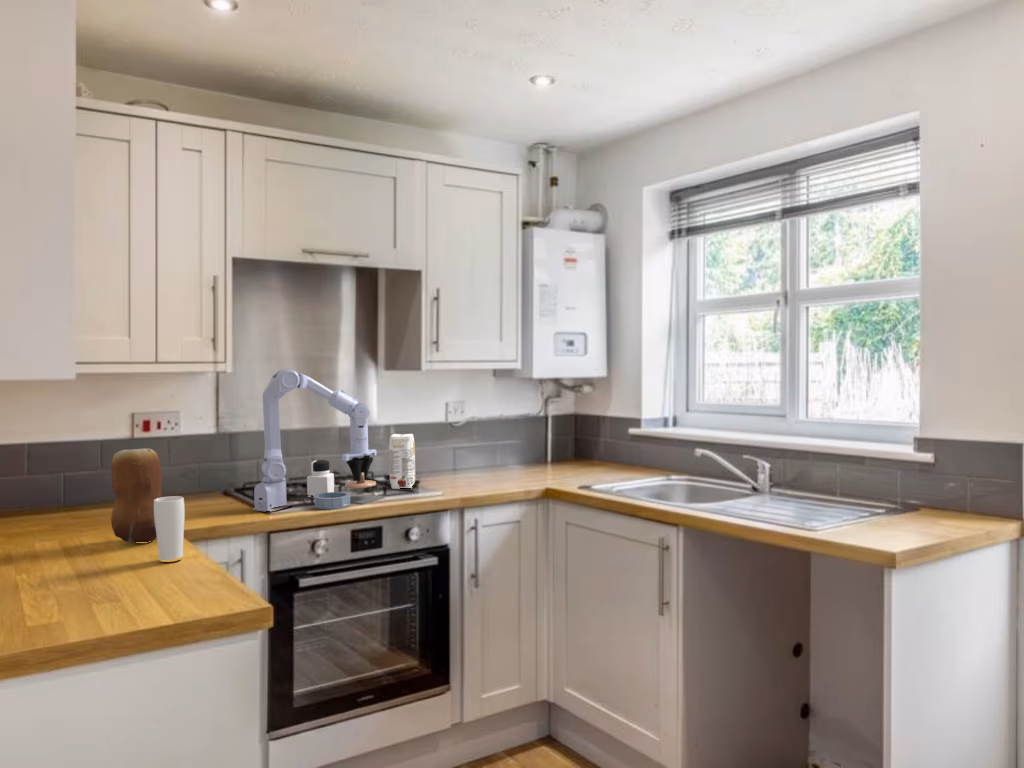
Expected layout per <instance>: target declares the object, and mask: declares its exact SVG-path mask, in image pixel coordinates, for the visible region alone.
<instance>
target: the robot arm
mask: <svg viewBox="0 0 1024 768" xmlns="http://www.w3.org/2000/svg"><path fill="white" fill-rule="evenodd" d="M296 388H298V389H307V390H309V391H311V392H313V393H315V394H316V395H318V396H320V397H322V398H324V399H325V400H327V402H328V405H329V406H330V407H332V408H334V409H335V410H337V411H339V412H340V413H342V414H345V415H348V417H349V420H350V421H349V422H350V423H349V435H350V438H349V439H350V440H349V441H350V444H349V445H350V451H349V452H347V453H345V454H341V460H342V461H343V462H346V464H347V465H348V467H349V469H350V472H351V475H352V478H353V481H360V478H361V472H364V478H365V480H368V479H367V478H368V475H369V470H370V467H371V465H372V463H373V461H374V457H375V456H377V449H374V448H373V449H369V429H368V427H369V425H368V418H369V416H370V412H371V411H370V410H369V408H368V405H366V404H365V403H364V402H363V403H362V402H360V401H359V399H358V398H356V397H355V398H353V397H351V396H350V395H348V394H347V391H345V390H343V389H341V390H339V389H337V390H331V389H330V388H328V387H327V386H325V385H323V384H321V383H320V382H318V381H316V380H315V379H313V378H312V377H310V376H308V375H306V374H303V373H300V372H297V371H295V370H294V369H289V368H282V369H280V370H278V371H277V372H276V373H274V374H273V375H272V376H271V378H270V380H269V381H268V383H267V386H266V387H265V389H264V390H263V391H262V412H263V413H262V415H263V435H264V436H263V437H264V438H263V439H264V452H263V453H264V454H263V462H262V463H261V467H260V468H261V469H260V470H261V472H262V473H263V474H264V475H263V477H262V478H261V482H259V483H257V484H256V485H255V486H254V489H253V490H254V491H253V499H254V500H253V501H254V503H253V504H254V507H253V508H252V510H253V511H259V512H266V511H268V510H269V509H271V508H274V507H278V506H283V505H286V504H287V505H288V503H287V501H288V499H287V477H286V474H287V467H286V465H285V463H284V460H283V453H282V446H281V445H282V444H281V442H282V441H281V424H280V423H281V421H280V399H282V398H283V397H284V396H285V395H286V393H287V394H288V392H290V391H292V390H295V389H296ZM372 456H374V457H372ZM266 513H267V512H266Z"/></svg>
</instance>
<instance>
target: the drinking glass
mask: <svg viewBox="0 0 1024 768" xmlns="http://www.w3.org/2000/svg"><path fill="white" fill-rule="evenodd" d="M185 507H186V506H185V498H184V497H183V496H179V495H175V496H173V495H172V496H162V498H157V499H155V500H154V521H155V529H156V536H157V538H156V543H157V550H158V560H159V559H161V560H170V559H176V558H180V557H183V558H184V539H185V538H184V535H185V521H186V519H185V518H186V517H185V516H186V515H185V513H186V512H185V511H186V510H185V509H186V508H185Z"/></svg>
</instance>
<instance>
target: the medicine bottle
mask: <svg viewBox="0 0 1024 768" xmlns="http://www.w3.org/2000/svg"><path fill="white" fill-rule="evenodd" d="M310 469H311V470H310V472H311V474H310V475H308V476H307V477H306V489H307V495H313V496H315V495H317V494H321V493H327V492H335V474H334V473H332V472H331V471H330V462H329V461H328V460H325V459H315V460H313V461H312V462H311V463H310Z"/></svg>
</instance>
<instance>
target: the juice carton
mask: <svg viewBox="0 0 1024 768" xmlns="http://www.w3.org/2000/svg"><path fill="white" fill-rule="evenodd" d="M415 449H416V445H415V437H414V434H413V433H406V434H400V433H393V434H392V435H390V436H389V443H388V452H389V453H388V455H389V457H388V459H389V482H390V483H389V484H390V487H391V489H392V490H401V489H400V488H411V489H412V488H413V487H414V486H415V482H416V450H415ZM413 485H414V486H413ZM412 486H413V487H412Z"/></svg>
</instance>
